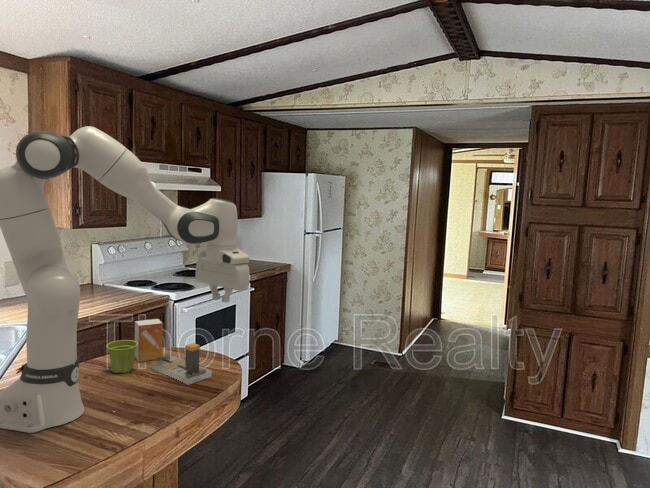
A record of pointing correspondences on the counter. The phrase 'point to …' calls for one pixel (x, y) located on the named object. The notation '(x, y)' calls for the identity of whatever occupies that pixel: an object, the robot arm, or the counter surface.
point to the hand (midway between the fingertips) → (220, 300)
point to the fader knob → (192, 357)
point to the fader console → (179, 369)
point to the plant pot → (122, 355)
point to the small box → (148, 339)
